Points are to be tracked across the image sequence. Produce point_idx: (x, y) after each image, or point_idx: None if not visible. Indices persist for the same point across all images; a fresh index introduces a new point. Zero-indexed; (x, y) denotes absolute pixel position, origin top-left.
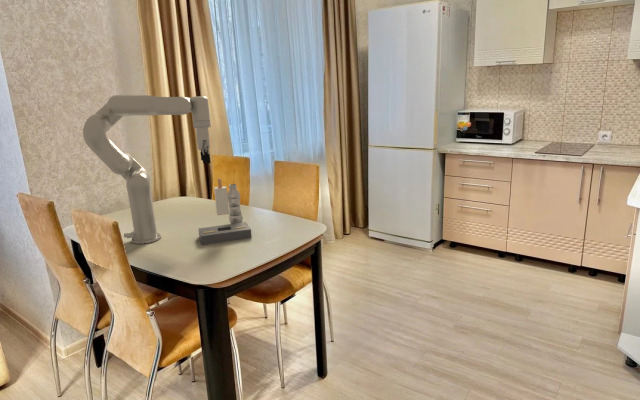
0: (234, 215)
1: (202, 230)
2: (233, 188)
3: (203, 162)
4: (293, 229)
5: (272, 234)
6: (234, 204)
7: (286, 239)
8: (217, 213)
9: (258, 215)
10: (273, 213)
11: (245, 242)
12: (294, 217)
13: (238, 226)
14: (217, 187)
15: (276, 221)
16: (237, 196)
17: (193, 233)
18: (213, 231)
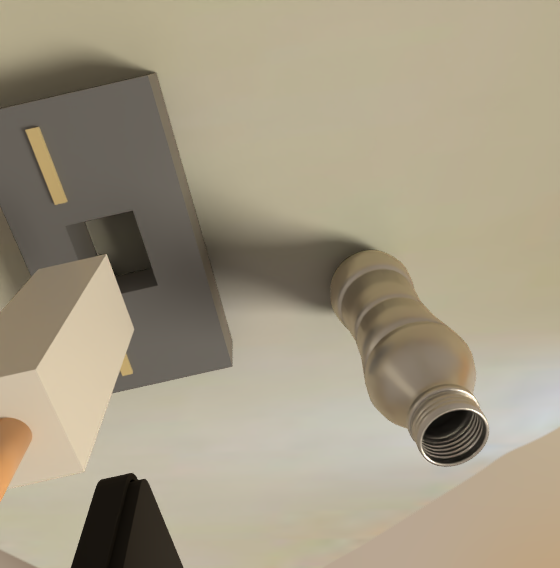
0: (342, 304)
1: (96, 113)
2: (408, 427)
3: (99, 501)
4: (192, 531)
5: (133, 456)
6: (360, 348)
7: (51, 509)
8: (42, 272)
9: (485, 383)
10: (488, 450)
11: None
12: (378, 533)
13: (148, 333)
14: (25, 405)
15: (340, 466)
16: (375, 406)
17: (237, 18)
18: (52, 195)
